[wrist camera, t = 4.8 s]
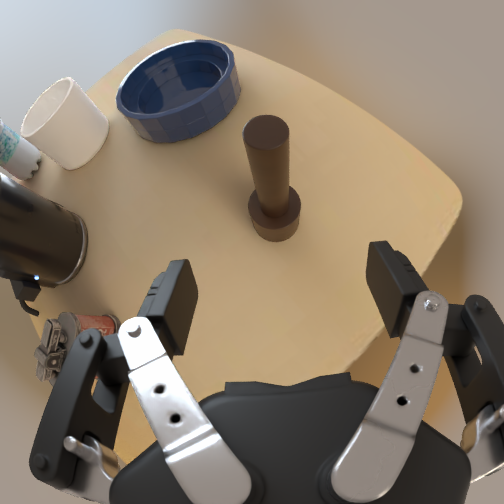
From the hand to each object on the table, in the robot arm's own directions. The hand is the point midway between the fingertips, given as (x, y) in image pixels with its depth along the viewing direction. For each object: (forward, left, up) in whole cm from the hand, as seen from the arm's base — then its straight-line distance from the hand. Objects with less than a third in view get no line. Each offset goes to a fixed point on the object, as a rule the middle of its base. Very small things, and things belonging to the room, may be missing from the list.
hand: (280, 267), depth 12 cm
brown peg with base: (+4, +5, -13) cm, 15 cm away
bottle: (-17, +43, -14) cm, 48 cm away
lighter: (-19, +8, -14) cm, 25 cm away
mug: (-7, +36, -14) cm, 39 cm away
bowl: (+8, +26, -13) cm, 31 cm away
